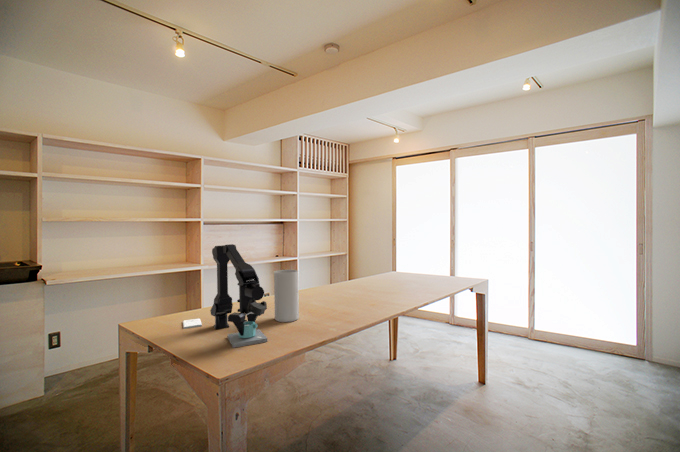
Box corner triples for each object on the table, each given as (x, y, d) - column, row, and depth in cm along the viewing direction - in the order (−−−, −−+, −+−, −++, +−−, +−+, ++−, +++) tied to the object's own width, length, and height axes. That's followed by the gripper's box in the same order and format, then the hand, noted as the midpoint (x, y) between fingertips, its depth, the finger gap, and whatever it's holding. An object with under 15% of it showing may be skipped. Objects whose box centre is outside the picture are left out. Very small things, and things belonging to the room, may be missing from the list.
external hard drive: (183, 330, 160) (182, 323, 171) (202, 327, 164) (200, 321, 175) (183, 327, 160) (182, 320, 171) (202, 324, 164) (200, 317, 175)
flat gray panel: (227, 337, 147) (227, 324, 147) (259, 332, 153) (259, 319, 153) (233, 347, 135) (232, 333, 134) (267, 341, 141) (267, 327, 141)
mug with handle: (235, 337, 142) (235, 325, 142) (244, 331, 148) (244, 320, 148) (252, 338, 139) (251, 326, 139) (261, 333, 146) (260, 322, 146)
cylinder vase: (294, 323, 167) (293, 273, 167) (270, 322, 169) (270, 272, 169) (302, 316, 179) (301, 269, 179) (280, 315, 182) (279, 269, 181)
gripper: (250, 302, 132) (251, 341, 133) (273, 293, 150) (274, 327, 150) (226, 301, 136) (227, 339, 136) (252, 291, 154) (252, 325, 154)
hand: (246, 332), depth 144 cm, fingers closed on mug with handle, 7 cm apart
